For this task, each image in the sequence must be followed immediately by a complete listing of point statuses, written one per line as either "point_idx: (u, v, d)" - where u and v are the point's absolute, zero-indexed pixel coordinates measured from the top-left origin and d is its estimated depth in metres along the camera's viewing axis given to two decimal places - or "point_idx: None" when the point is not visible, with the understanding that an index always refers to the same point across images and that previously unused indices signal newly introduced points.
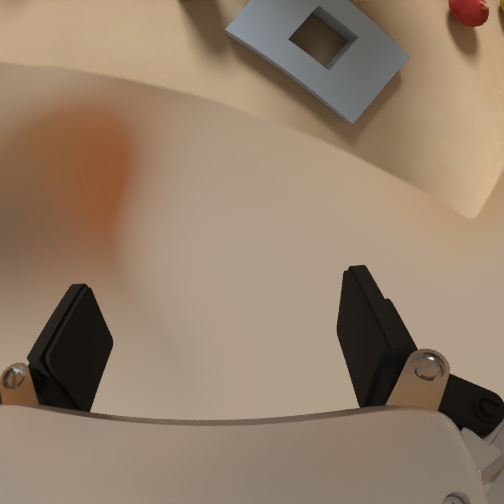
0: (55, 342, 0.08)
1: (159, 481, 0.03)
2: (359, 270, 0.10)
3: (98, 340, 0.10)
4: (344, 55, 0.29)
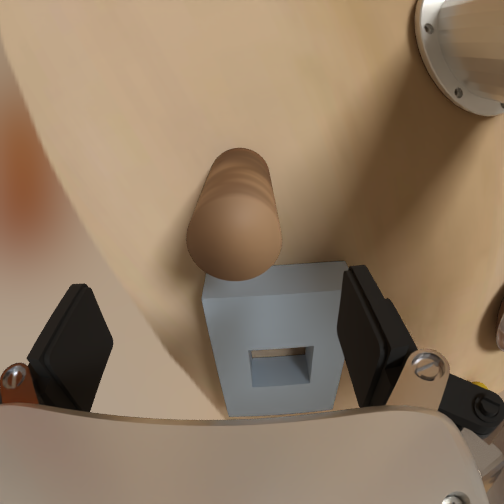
0: (55, 342, 0.08)
1: (159, 481, 0.03)
2: (359, 270, 0.10)
3: (98, 340, 0.10)
4: (279, 386, 0.30)
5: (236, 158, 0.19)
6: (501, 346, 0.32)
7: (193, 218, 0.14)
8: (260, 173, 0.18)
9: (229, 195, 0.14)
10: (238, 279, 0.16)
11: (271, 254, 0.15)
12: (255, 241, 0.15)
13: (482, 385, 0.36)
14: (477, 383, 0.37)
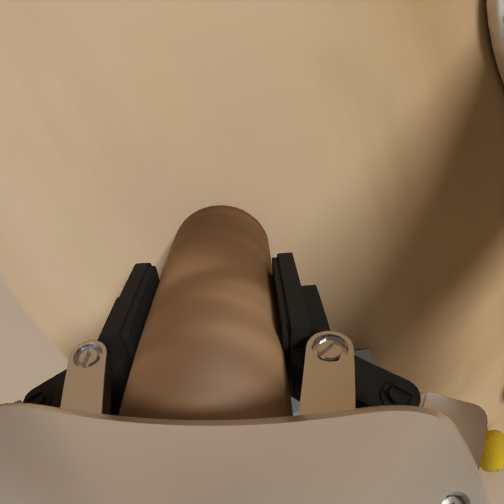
0: (132, 317, 0.09)
1: (159, 481, 0.03)
2: (284, 257, 0.11)
3: None
4: None
5: (211, 239, 0.11)
6: None
7: None
8: (254, 279, 0.10)
9: (183, 405, 0.05)
10: None
11: None
12: None
13: (500, 435, 0.28)
14: (495, 433, 0.29)
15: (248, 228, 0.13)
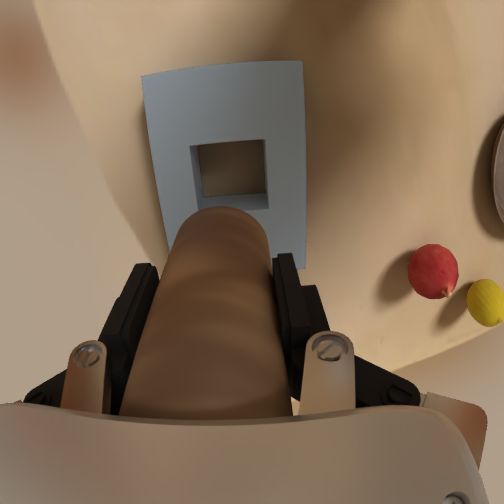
0: (132, 317, 0.09)
1: (159, 481, 0.03)
2: (284, 257, 0.11)
3: None
4: None
5: (210, 240, 0.11)
6: None
7: None
8: (254, 280, 0.10)
9: (183, 406, 0.05)
10: None
11: None
12: None
13: (491, 281, 0.33)
14: (485, 279, 0.33)
15: (248, 228, 0.13)
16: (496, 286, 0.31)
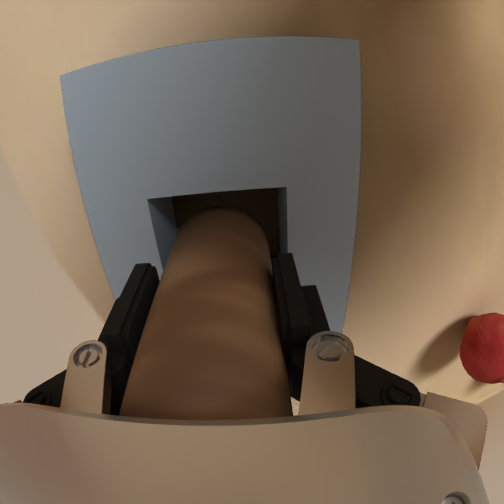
0: (132, 317, 0.09)
1: (159, 481, 0.03)
2: (284, 257, 0.11)
3: None
4: None
5: (211, 240, 0.11)
6: None
7: None
8: (254, 280, 0.10)
9: (184, 406, 0.05)
10: None
11: None
12: None
13: None
14: None
15: (248, 229, 0.13)
16: None
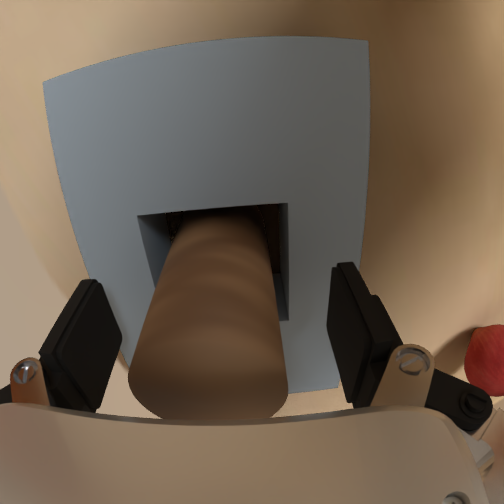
0: (67, 336, 0.08)
1: (159, 481, 0.03)
2: (346, 266, 0.10)
3: (108, 335, 0.11)
4: None
5: (214, 215, 0.13)
6: None
7: (133, 364, 0.07)
8: (251, 246, 0.12)
9: (192, 332, 0.07)
10: None
11: (270, 406, 0.08)
12: (243, 394, 0.08)
13: None
14: None
15: (246, 208, 0.14)
16: None
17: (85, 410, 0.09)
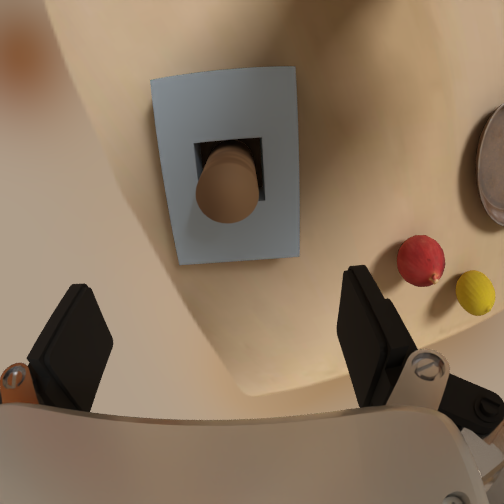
0: (55, 342, 0.08)
1: (159, 481, 0.03)
2: (359, 270, 0.10)
3: (98, 340, 0.10)
4: None
5: (228, 145, 0.27)
6: (489, 212, 0.31)
7: (200, 178, 0.21)
8: (245, 154, 0.25)
9: (224, 163, 0.21)
10: (230, 222, 0.23)
11: (252, 203, 0.22)
12: (241, 194, 0.22)
13: (479, 272, 0.35)
14: (473, 270, 0.36)
15: (243, 146, 0.28)
16: (484, 277, 0.34)
17: None
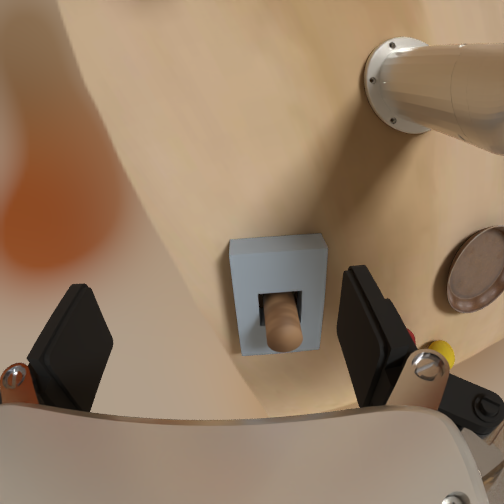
0: (55, 342, 0.08)
1: (159, 481, 0.03)
2: (359, 270, 0.10)
3: (98, 340, 0.10)
4: None
5: (279, 292, 0.42)
6: (455, 306, 0.47)
7: (270, 334, 0.37)
8: (291, 303, 0.41)
9: (284, 326, 0.37)
10: (285, 351, 0.39)
11: (298, 343, 0.38)
12: (292, 340, 0.37)
13: (445, 342, 0.51)
14: (440, 341, 0.51)
15: None
16: (447, 347, 0.49)
17: None
